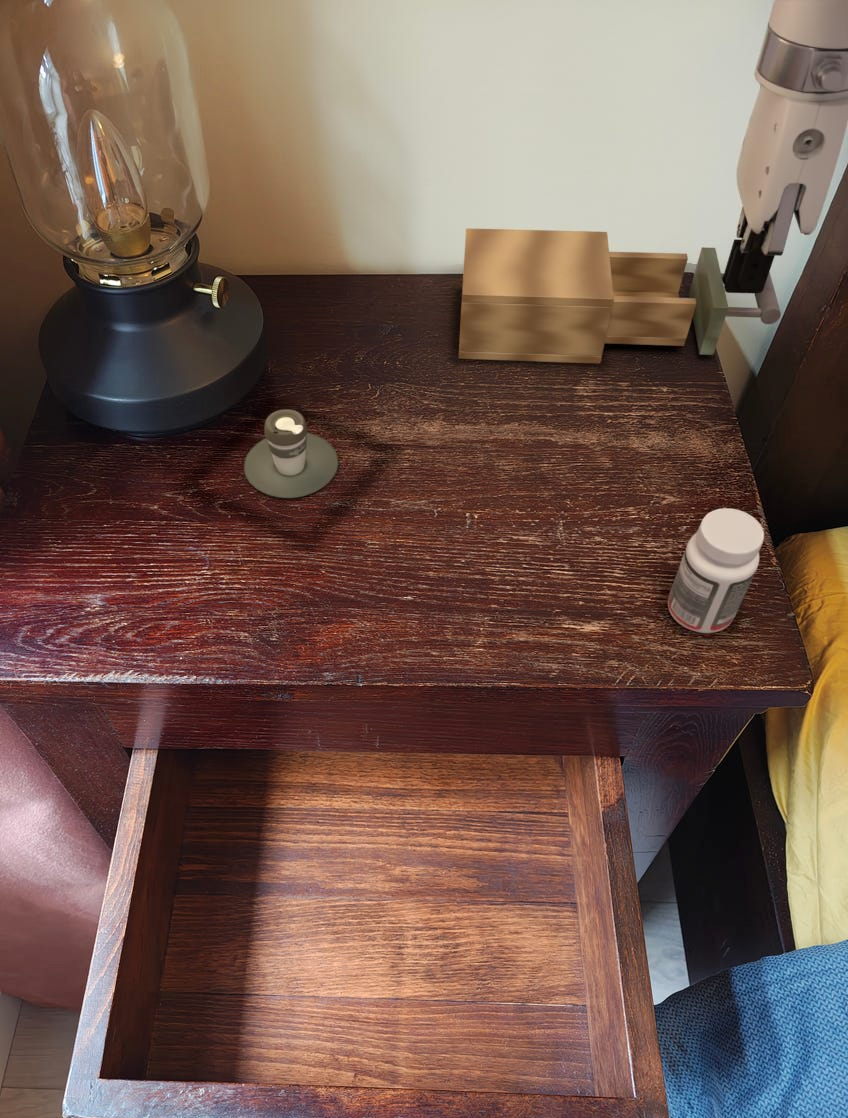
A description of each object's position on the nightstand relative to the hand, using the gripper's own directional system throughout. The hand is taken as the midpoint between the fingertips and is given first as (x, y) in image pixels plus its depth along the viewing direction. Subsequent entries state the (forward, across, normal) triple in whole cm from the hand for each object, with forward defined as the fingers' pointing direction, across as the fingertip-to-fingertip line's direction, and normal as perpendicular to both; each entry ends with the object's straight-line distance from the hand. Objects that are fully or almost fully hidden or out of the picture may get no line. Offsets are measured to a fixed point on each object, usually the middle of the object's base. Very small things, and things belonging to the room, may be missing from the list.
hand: (741, 287), depth 82 cm
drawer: (+4, 0, +5) cm, 7 cm away
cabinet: (+5, 0, +18) cm, 18 cm away
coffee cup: (+5, -19, +37) cm, 42 cm away
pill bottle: (+6, -32, +6) cm, 33 cm away
